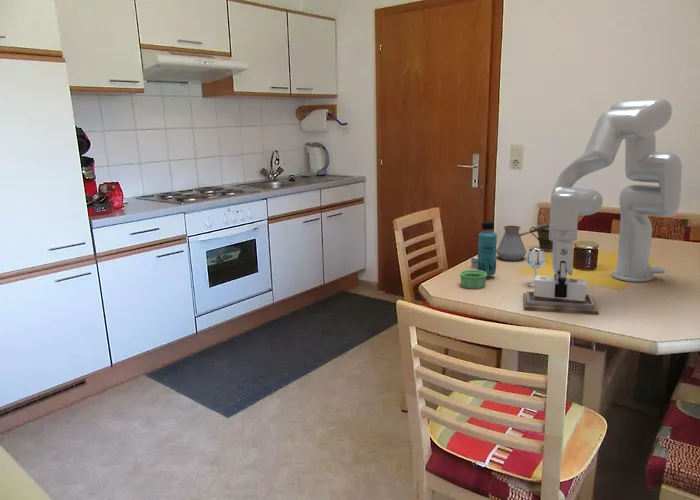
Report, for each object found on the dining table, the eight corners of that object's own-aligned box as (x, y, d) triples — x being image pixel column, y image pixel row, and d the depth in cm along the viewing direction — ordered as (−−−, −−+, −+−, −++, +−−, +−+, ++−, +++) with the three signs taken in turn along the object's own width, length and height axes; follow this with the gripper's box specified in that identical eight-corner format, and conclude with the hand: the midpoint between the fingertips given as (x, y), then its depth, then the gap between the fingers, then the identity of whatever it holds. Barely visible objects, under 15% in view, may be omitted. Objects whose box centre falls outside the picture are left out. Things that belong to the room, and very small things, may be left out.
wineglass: (535, 288, 171) (536, 253, 168) (522, 283, 176) (523, 249, 173) (547, 285, 174) (549, 250, 171) (534, 280, 179) (536, 247, 176)
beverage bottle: (474, 275, 188) (475, 220, 183) (492, 274, 188) (493, 219, 184) (480, 280, 182) (481, 224, 177) (498, 279, 182) (500, 223, 177)
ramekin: (454, 284, 179) (454, 271, 178) (475, 280, 183) (476, 268, 182) (470, 291, 171) (470, 278, 170) (492, 286, 175) (492, 274, 174)
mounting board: (591, 299, 159) (592, 292, 158) (598, 314, 147) (599, 307, 146) (523, 295, 164) (523, 289, 164) (524, 310, 152) (524, 302, 152)
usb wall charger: (471, 267, 198) (471, 257, 198) (484, 264, 202) (485, 254, 201) (478, 269, 195) (478, 259, 194) (492, 266, 198) (492, 256, 197)
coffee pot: (492, 260, 207) (493, 223, 203) (501, 253, 216) (502, 218, 212) (547, 266, 195) (549, 227, 191) (555, 259, 204) (557, 222, 201)
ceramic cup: (563, 248, 220) (564, 225, 218) (558, 253, 212) (559, 229, 210) (531, 245, 227) (532, 223, 225) (526, 250, 219) (527, 227, 216)
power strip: (585, 295, 154) (586, 279, 153) (584, 301, 150) (585, 284, 148) (536, 290, 160) (536, 275, 159) (533, 295, 156) (534, 279, 155)
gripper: (580, 241, 141) (576, 304, 146) (573, 228, 157) (570, 285, 162) (551, 240, 144) (547, 302, 148) (547, 228, 159) (544, 284, 164)
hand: (559, 293), depth 155 cm, fingers closed on power strip, 5 cm apart
